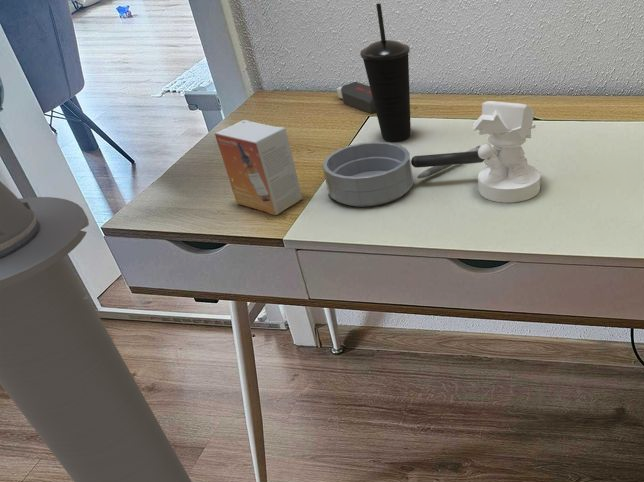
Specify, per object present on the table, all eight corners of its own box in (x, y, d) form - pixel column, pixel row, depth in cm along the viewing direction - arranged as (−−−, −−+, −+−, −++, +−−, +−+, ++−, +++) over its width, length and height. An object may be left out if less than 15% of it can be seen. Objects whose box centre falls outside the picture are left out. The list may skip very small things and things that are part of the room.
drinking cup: (398, 149, 101) (379, 12, 88) (364, 140, 105) (341, 7, 92) (428, 132, 106) (414, 0, 93) (395, 124, 109) (377, -4, 96)
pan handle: (411, 170, 89) (410, 159, 88) (411, 165, 90) (410, 154, 89) (486, 163, 89) (485, 153, 87) (485, 159, 90) (484, 148, 89)
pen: (487, 152, 98) (486, 144, 97) (420, 184, 91) (419, 175, 90) (482, 151, 98) (482, 142, 98) (415, 182, 91) (414, 173, 91)
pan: (324, 212, 86) (317, 181, 83) (334, 173, 96) (328, 145, 93) (412, 205, 86) (408, 174, 83) (413, 167, 96) (410, 138, 93)
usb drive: (371, 113, 114) (369, 98, 113) (334, 100, 121) (331, 85, 120) (393, 105, 117) (391, 90, 115) (356, 92, 124) (353, 78, 122)
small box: (236, 204, 90) (212, 132, 83) (264, 188, 93) (243, 118, 86) (276, 216, 86) (254, 142, 79) (304, 199, 90) (285, 126, 83)
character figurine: (468, 197, 87) (462, 110, 79) (494, 168, 93) (491, 86, 86) (528, 206, 84) (528, 117, 76) (550, 176, 90) (553, 91, 82)
